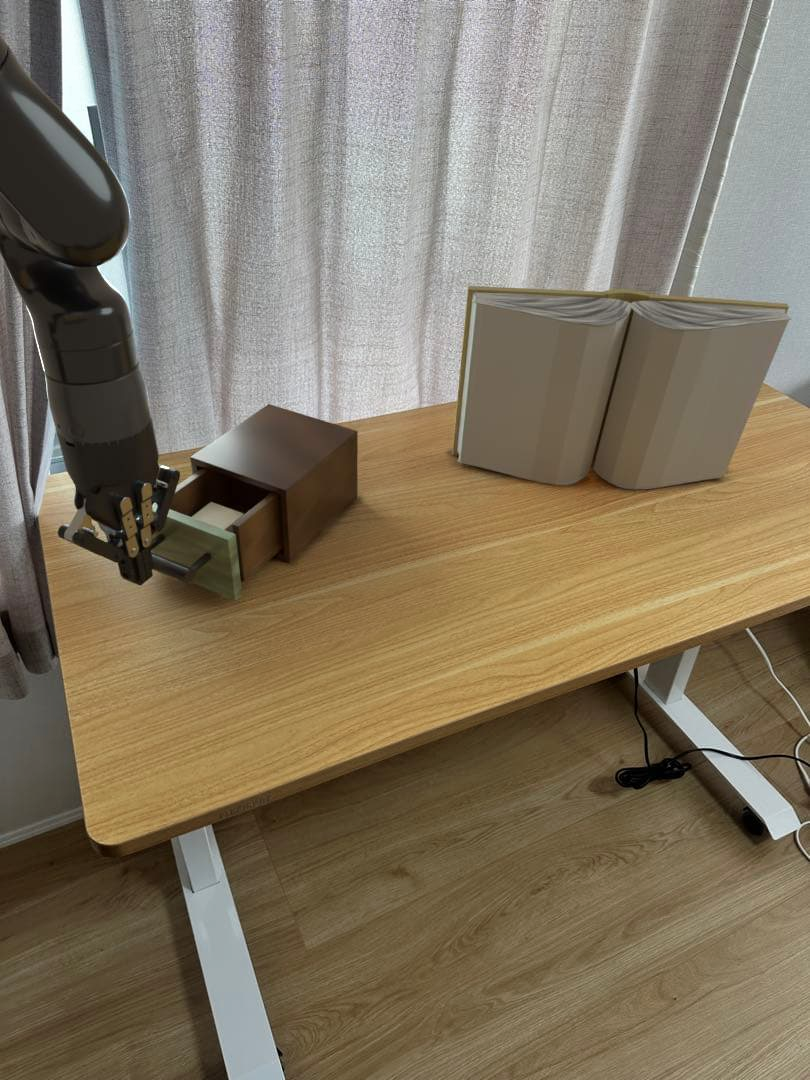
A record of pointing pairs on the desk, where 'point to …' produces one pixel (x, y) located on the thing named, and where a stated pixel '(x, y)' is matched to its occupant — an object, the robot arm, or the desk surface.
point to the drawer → (218, 534)
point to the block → (218, 516)
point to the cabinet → (290, 468)
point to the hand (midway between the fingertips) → (138, 578)
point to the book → (609, 383)
